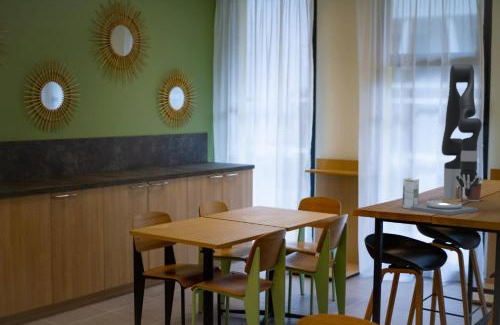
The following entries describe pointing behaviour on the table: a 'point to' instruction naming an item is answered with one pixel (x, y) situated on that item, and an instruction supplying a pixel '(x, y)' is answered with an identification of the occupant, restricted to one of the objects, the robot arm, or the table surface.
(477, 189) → the coffee cup
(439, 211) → the base
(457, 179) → the robot arm
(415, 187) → the syrup box
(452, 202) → the dial
